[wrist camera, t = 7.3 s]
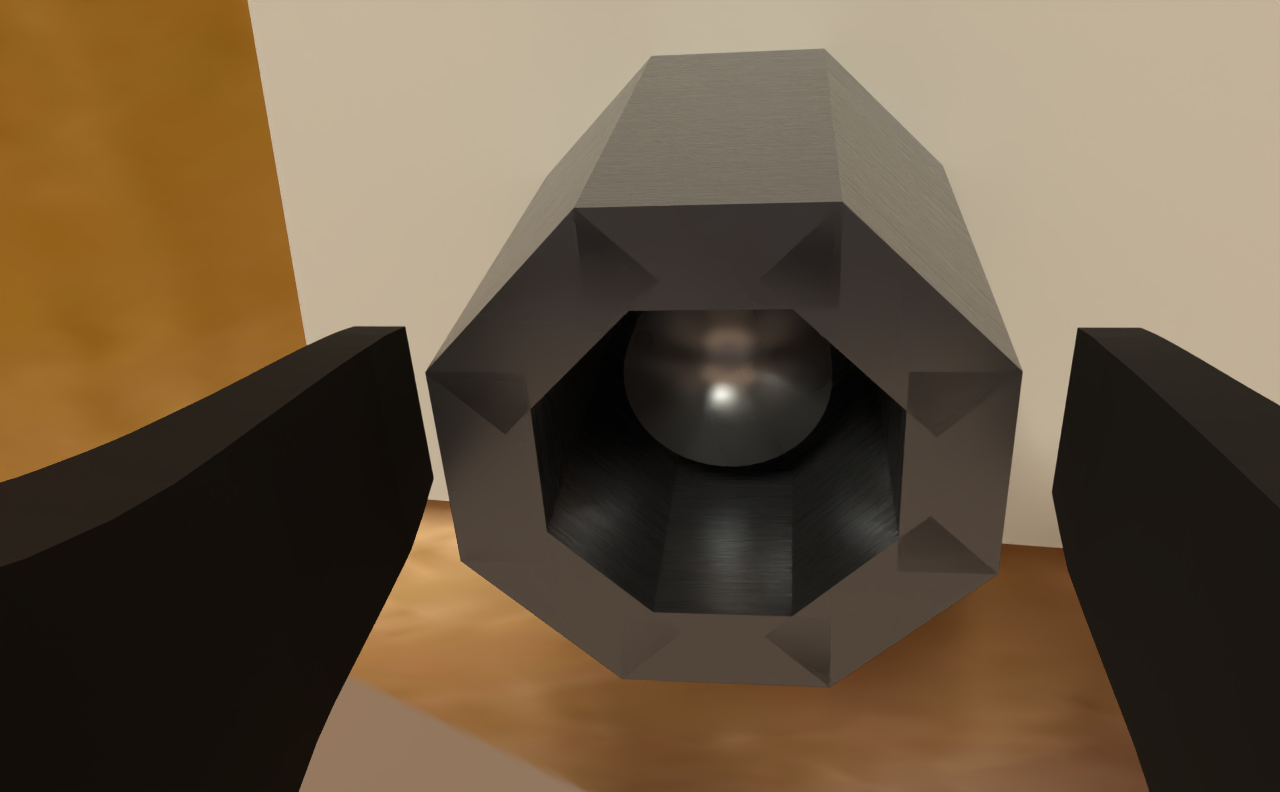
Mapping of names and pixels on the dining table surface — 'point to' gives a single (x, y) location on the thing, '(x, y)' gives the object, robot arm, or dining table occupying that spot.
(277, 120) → the board
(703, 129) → the gray faceted cup
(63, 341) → the dining table surface
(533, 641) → the dining table surface
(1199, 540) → the robot arm
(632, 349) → the cylinder
